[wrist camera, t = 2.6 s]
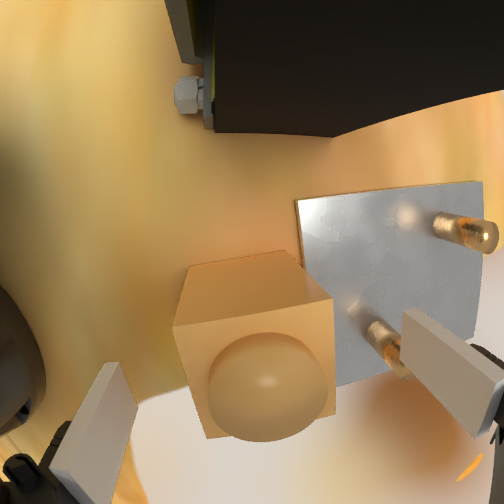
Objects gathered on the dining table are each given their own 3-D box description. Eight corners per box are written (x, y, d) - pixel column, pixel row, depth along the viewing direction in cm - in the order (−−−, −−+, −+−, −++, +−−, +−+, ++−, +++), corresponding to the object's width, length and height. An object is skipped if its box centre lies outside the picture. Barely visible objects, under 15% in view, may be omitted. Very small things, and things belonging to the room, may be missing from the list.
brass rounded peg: (433, 241, 20) (479, 256, 15) (432, 213, 19) (480, 223, 15) (452, 237, 20) (498, 251, 15) (451, 210, 20) (499, 220, 15)
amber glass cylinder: (365, 347, 21) (397, 384, 16) (365, 323, 21) (400, 358, 16) (388, 340, 21) (423, 374, 16) (389, 317, 21) (427, 348, 16)
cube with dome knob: (208, 349, 21) (207, 462, 11) (189, 266, 19) (166, 347, 9) (294, 334, 21) (346, 434, 11) (284, 250, 20) (347, 313, 10)
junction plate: (312, 386, 22) (315, 392, 21) (294, 200, 19) (298, 200, 18) (468, 333, 23) (473, 336, 23) (475, 181, 20) (482, 181, 19)
